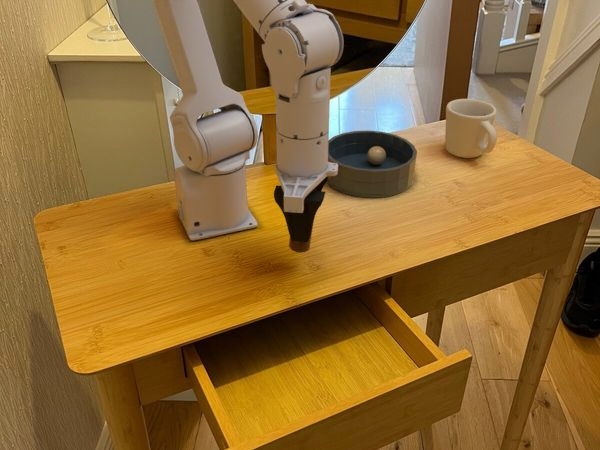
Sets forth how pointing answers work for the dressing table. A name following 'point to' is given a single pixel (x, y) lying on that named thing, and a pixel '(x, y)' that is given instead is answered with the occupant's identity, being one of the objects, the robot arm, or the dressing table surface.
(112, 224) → the dressing table surface
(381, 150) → the bead
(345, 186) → the bowl
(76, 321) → the dressing table surface
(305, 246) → the stick
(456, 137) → the cup
